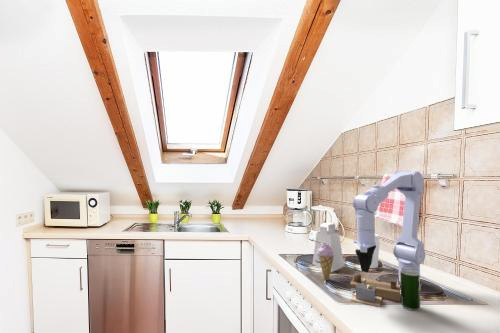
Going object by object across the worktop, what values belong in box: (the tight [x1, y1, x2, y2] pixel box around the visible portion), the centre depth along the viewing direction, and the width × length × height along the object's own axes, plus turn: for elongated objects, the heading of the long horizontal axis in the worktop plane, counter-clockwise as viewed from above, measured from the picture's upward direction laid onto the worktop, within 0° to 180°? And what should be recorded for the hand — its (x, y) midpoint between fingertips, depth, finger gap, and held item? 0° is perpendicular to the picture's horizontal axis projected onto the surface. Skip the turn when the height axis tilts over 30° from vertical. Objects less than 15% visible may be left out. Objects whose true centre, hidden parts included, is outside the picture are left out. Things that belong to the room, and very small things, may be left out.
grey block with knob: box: [356, 283, 376, 303], centre depth 95 cm, size 4×6×5 cm
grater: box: [312, 222, 345, 273], centre depth 130 cm, size 10×10×20 cm
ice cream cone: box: [317, 243, 334, 281], centre depth 113 cm, size 7×6×15 cm
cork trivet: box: [350, 295, 383, 307], centre depth 95 cm, size 7×9×1 cm
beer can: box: [400, 267, 421, 312], centre depth 89 cm, size 5×5×12 cm
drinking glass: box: [369, 233, 380, 270], centre depth 129 cm, size 7×7×15 cm
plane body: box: [349, 273, 401, 302], centre depth 100 cm, size 7×16×5 cm, turn 60°
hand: (366, 268), depth 96 cm, fingers open, 7 cm apart
